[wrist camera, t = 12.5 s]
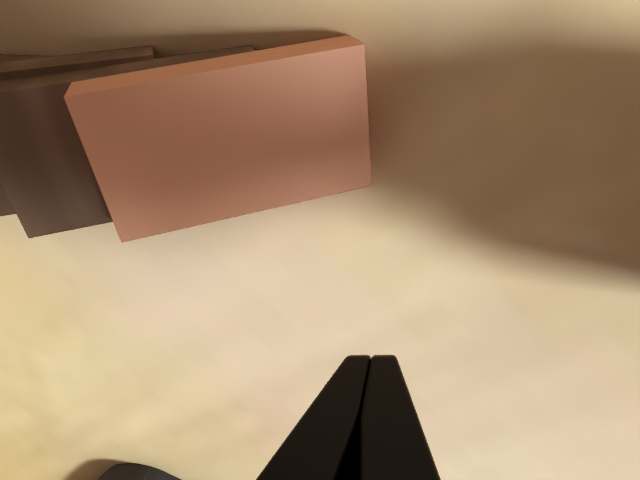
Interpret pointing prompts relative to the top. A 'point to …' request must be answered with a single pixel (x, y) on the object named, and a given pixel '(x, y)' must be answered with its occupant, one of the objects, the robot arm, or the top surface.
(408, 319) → the top surface
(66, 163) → the walnut domino
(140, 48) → the walnut domino
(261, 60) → the terracotta domino
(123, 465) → the media streaming box
